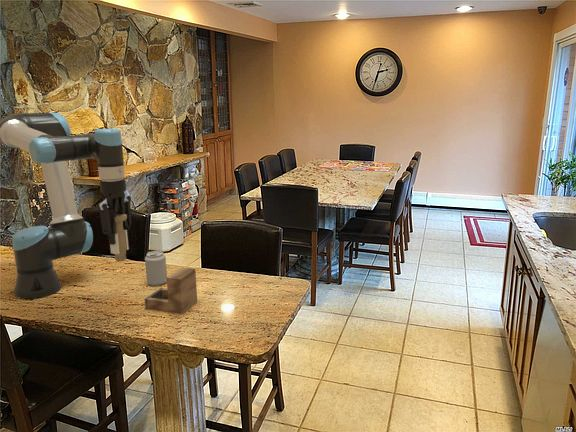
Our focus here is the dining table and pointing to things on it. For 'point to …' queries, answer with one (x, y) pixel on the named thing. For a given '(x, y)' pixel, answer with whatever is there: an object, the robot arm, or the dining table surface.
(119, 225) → the handle
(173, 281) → the wooden stand
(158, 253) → the can
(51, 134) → the robot arm
